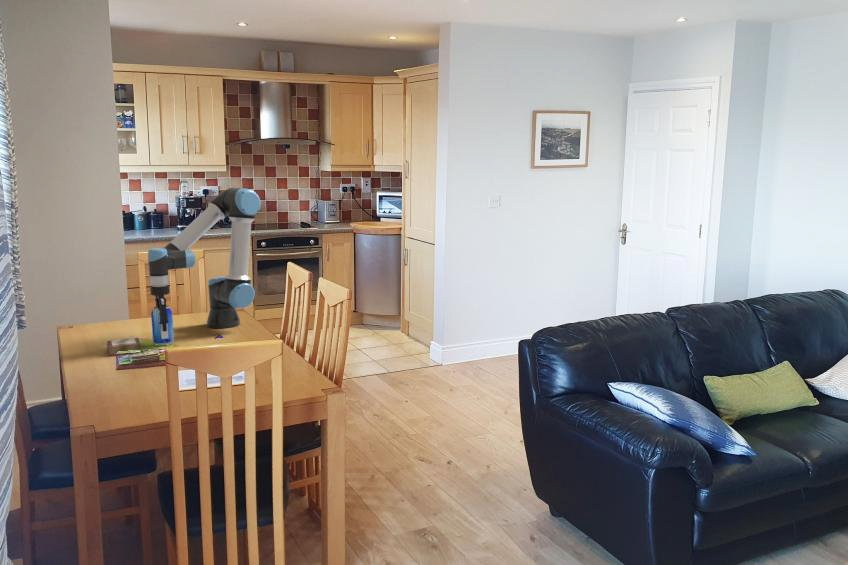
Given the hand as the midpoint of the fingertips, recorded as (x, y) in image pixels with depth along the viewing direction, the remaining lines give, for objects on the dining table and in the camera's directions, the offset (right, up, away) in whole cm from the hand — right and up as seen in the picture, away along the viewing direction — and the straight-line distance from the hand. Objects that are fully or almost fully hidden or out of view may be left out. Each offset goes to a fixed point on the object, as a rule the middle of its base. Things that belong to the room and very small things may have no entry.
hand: (163, 335), depth 308 cm
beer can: (0, -4, +1) cm, 4 cm away
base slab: (-12, -6, -10) cm, 17 cm away
